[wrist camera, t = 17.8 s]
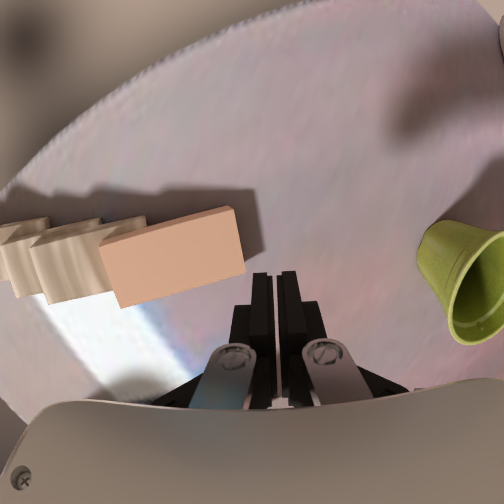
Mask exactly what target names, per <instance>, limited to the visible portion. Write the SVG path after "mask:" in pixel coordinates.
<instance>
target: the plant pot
mask: <svg viewBox="0 0 504 504" xmlns="http://www.w3.org/2000/svg"><path fill="white" fill-rule="evenodd" d="M417 265H418V268H419V271H420V272H421V274H422V275H423V277H424V278H425V280H426V281H427V283H428V284H429V286H430V287H431V289H432V290H433V292H434V293H435V295H436V296H437V298H438V299H439V301H440V303H441V304H442V306H443V308H444V311H445V315H446V317H447V323H448V328H449V331H450V333H451V335H452V336H453V338H454V339H455V340H456V341H457V342H459V343H461V344H464V345H475V344H479V343H482V342H484V341H486V340H488V339H490V338H491V337H493V336H494V335H496V334H497V333H498V332H499V331H500V330H501V329H502V328H503V327H504V230H502V231H488V230H485V229H481V228H478V227H474V226H471V225H467V224H464V223H460V222H457V221H453V220H442V221H439V222H437V223H435V224H434V225H432V226H431V227H430V228H429V229H428V230H427V231H426V232H425V234H424V236H423V239H422V242H421V245H420V247H419V249H418V251H417Z"/></svg>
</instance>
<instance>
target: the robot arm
mask: <svg viewBox="0 0 504 504" xmlns="http://www.w3.org/2000/svg"><path fill="white" fill-rule="evenodd" d="M499 38H500V44H501V49H502V53H503V57H504V16H503V17H502V18H501V21H500V26H499ZM277 298H278V325H279V345H280V363H281V381H282V398H287V397H288V403H289V406H293V407H295V408H282V409H267V408H268V407H272V398H277V368H276V341H275V319H274V299H273V280H272V276H267V272H265V273H253V284H252V298H251V305H235V307H234V312H233V319H232V325H231V332H230V338H229V344H225V345H223V346H221V347H219V348H217V349H216V350H215V351H214V352H213V353H212V355H211V357H210V359H209V361H208V363H207V366H206V368H205V370H204V373H202V374H200V375H199V376H197V377H195V378H193V379H192V380H190V381H188V382H187V383H185V384H183V385H181V386H180V387H178V388H176V389H174V390H173V391H171V392H169V393H167V394H165V395H164V396H162V397H160V398H158V399H157V400H155V401H154V402H153V403H152V404H151V405H146V404H145V402H144V403H124V402H114V401H106V400H91V399H82V400H69V401H62V402H58V403H54V404H51V405H49V406H47V407H45V408H44V409H43V410H41V411H40V412H39V413H38V414H37V415H36V416H35V417H34V419H33V420H32V421H31V423H30V424H29V425H28V427H27V428H26V430H25V431H24V433H23V434H22V436H21V438H20V439H19V441H18V443H17V444H16V447H15V448H14V450H13V452H12V454H11V455H10V458H9V459H8V461H7V464H6V466H5V468H4V470H3V472H2V474H1V476H0V504H504V380H501V379H495V378H477V379H467V380H462V381H456V382H451V383H447V384H443V385H438V386H434V387H429V388H415V389H414V391H411V392H409V391H408V389H406V388H404V387H403V386H401V385H399V384H396V383H394V382H392V381H390V380H387V379H385V378H383V377H381V376H379V375H376V374H374V373H372V372H370V371H368V370H366V369H363V368H361V367H359V366H357V365H356V364H355V362H354V360H353V359H352V357H351V355H350V353H349V351H348V350H347V348H346V347H345V346H344V344H342V343H341V342H339V341H337V340H334V339H328V338H327V335H326V331H325V328H324V324H323V320H322V317H321V313H320V309H319V306H318V303H317V301H308V302H302V301H301V296H300V291H299V286H298V281H297V276H296V272H295V271H283V272H282V275H277Z"/></svg>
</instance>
